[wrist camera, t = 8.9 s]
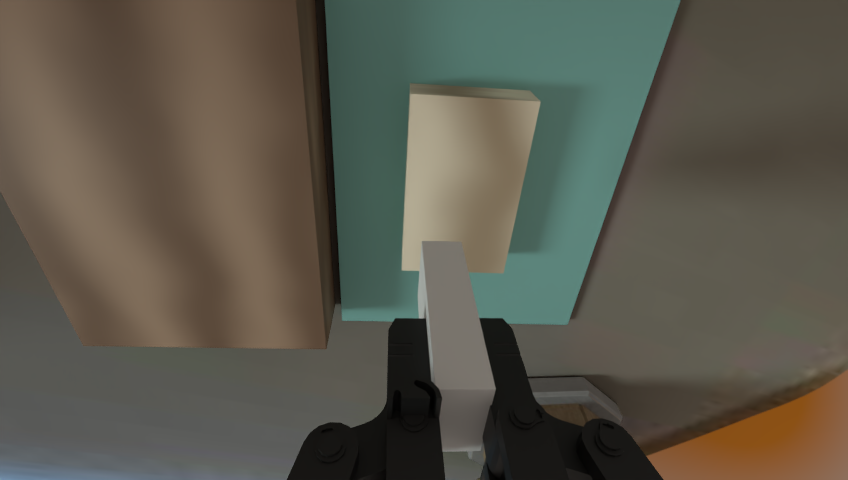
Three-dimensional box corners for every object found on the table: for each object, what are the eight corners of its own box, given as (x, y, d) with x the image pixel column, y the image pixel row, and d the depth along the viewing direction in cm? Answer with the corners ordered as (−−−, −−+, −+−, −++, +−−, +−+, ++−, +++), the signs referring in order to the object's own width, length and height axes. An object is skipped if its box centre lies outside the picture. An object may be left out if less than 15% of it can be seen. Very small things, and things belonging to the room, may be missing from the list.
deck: (121, 300, 28) (83, 345, 25) (-41, -75, 17) (-149, -84, 14) (335, 304, 29) (326, 349, 26) (312, -47, 18) (291, -49, 15)
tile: (503, 273, 25) (497, 253, 27) (540, 101, 19) (529, 90, 21) (401, 270, 24) (401, 250, 26) (410, 93, 19) (409, 83, 21)
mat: (343, 315, 30) (342, 320, 29) (322, -75, 18) (320, -76, 17) (565, 319, 31) (567, 324, 30) (689, -44, 19) (696, -44, 18)
